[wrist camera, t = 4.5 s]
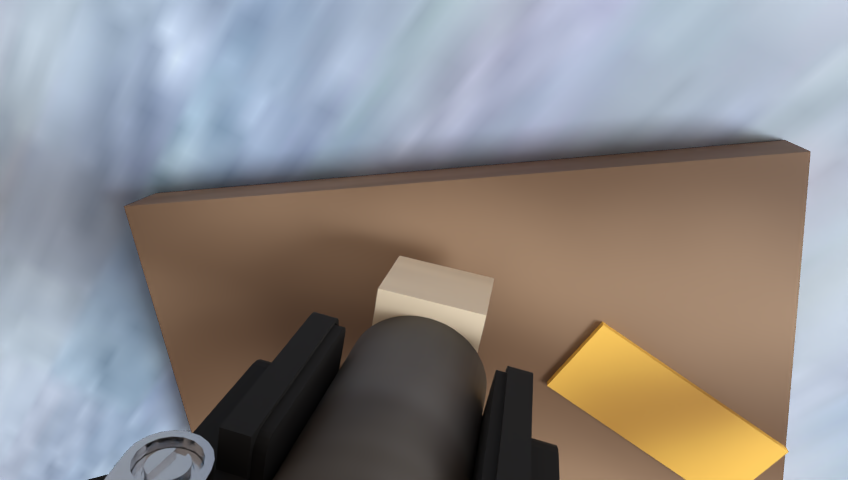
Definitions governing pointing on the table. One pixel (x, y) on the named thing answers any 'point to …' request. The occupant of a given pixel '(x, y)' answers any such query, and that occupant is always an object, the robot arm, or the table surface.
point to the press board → (525, 290)
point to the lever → (404, 385)
